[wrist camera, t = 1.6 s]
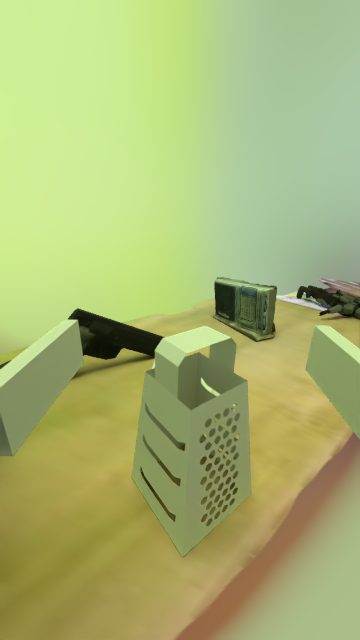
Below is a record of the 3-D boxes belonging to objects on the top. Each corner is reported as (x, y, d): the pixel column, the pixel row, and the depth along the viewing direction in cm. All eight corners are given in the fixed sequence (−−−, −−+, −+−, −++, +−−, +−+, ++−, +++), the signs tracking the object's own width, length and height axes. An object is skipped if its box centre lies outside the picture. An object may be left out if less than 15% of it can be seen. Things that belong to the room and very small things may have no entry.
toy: (272, 300, 107) (332, 333, 81) (276, 281, 103) (340, 309, 77) (329, 295, 116) (399, 323, 90) (334, 277, 112) (409, 301, 87)
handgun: (141, 395, 62) (168, 340, 61) (33, 378, 49) (64, 306, 47) (138, 390, 64) (163, 336, 63) (33, 372, 50) (62, 302, 49)
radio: (209, 315, 89) (211, 272, 84) (231, 312, 92) (234, 270, 87) (250, 344, 69) (257, 289, 64) (276, 339, 72) (284, 286, 67)
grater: (251, 493, 31) (277, 343, 24) (182, 557, 25) (190, 382, 18) (194, 438, 39) (201, 312, 32) (131, 476, 33) (122, 332, 26)
